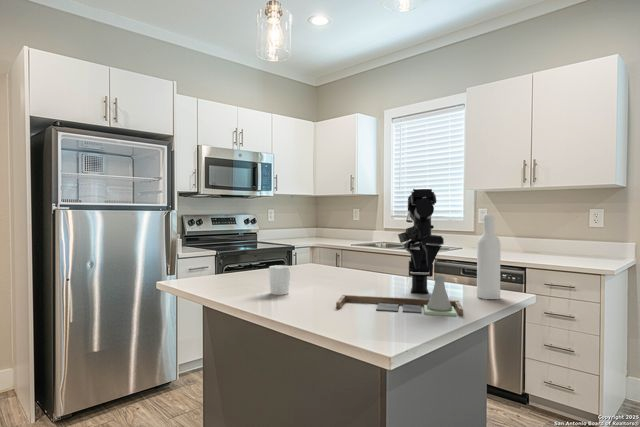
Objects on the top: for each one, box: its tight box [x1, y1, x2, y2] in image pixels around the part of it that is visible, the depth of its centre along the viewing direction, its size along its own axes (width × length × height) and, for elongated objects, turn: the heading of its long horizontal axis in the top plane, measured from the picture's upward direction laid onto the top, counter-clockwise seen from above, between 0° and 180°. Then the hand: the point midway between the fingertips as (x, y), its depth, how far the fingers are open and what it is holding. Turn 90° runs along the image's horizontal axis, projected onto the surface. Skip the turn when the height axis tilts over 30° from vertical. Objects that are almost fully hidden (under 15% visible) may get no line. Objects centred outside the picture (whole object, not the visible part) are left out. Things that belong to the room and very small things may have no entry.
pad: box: [423, 305, 457, 317], centre depth 127 cm, size 9×9×1 cm
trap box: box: [335, 294, 464, 317], centre depth 132 cm, size 12×38×2 cm, turn 77°
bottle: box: [476, 213, 501, 300], centre depth 148 cm, size 8×8×30 cm
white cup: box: [268, 264, 291, 296], centre depth 154 cm, size 8×8×10 cm
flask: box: [427, 275, 452, 311], centre depth 127 cm, size 7×7×10 cm
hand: (423, 268), depth 141 cm, fingers open, 9 cm apart
